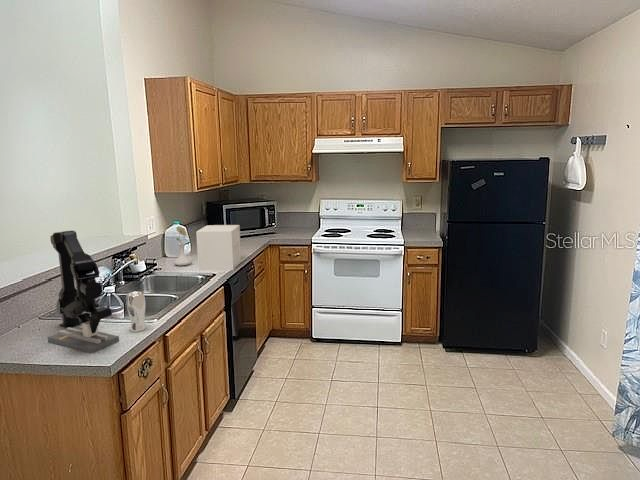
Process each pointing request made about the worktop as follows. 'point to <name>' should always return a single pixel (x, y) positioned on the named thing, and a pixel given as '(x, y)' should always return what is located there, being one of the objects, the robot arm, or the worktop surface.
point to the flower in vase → (182, 250)
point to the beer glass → (136, 310)
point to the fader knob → (88, 330)
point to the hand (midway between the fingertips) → (90, 332)
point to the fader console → (82, 340)
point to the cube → (218, 247)
